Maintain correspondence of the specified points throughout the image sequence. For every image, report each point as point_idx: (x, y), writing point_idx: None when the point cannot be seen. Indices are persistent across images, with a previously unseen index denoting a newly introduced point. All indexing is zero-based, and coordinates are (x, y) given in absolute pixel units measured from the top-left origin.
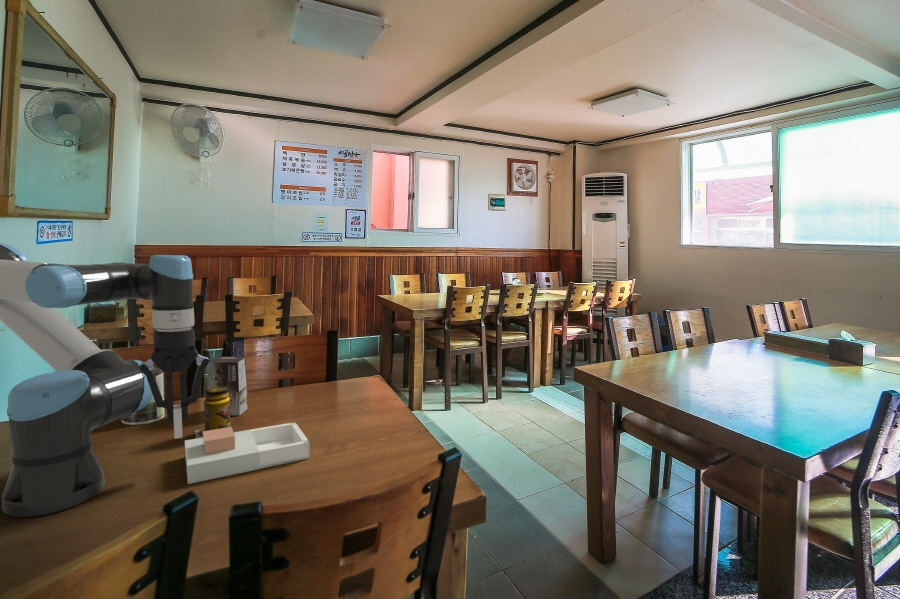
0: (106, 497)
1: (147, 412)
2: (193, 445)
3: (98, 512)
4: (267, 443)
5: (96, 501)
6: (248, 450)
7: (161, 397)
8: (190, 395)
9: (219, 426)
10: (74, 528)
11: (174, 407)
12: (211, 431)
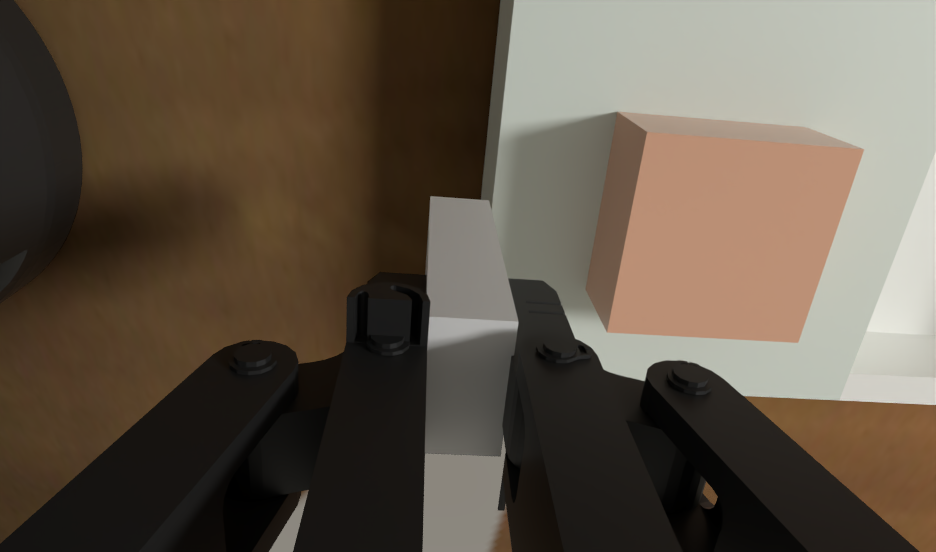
0: (124, 272)
1: None
2: (556, 101)
3: (123, 387)
4: None
5: (88, 289)
6: (802, 357)
7: (259, 435)
8: (664, 408)
9: None
10: (66, 457)
11: (434, 398)
12: (703, 170)
